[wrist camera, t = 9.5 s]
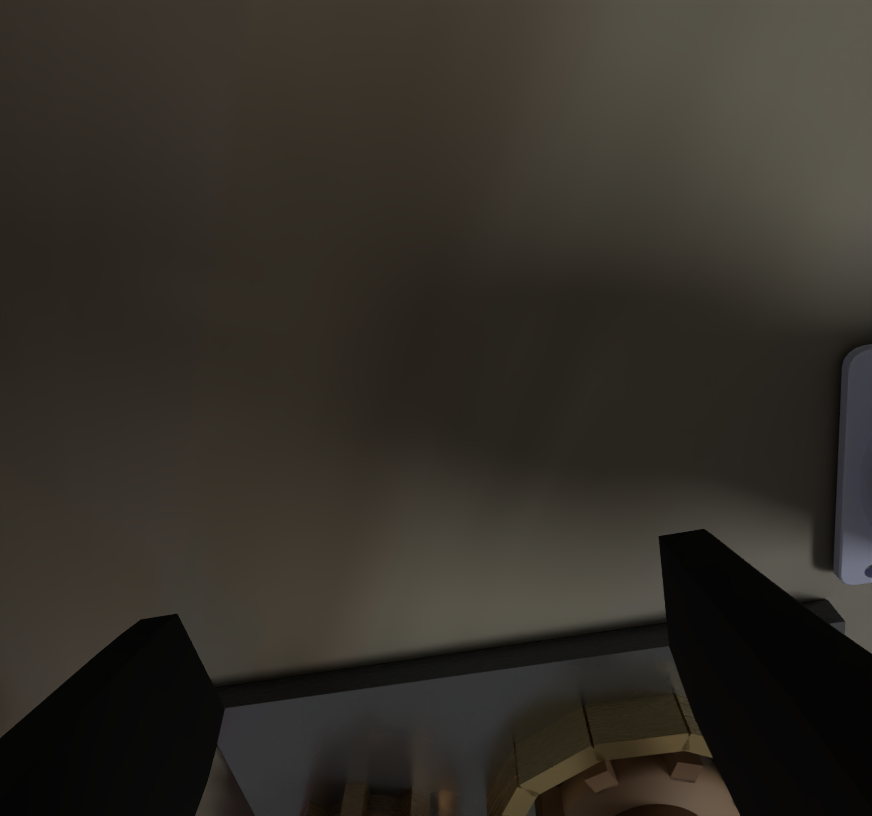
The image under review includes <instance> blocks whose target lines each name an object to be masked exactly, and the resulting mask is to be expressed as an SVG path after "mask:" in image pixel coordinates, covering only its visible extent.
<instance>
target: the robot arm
mask: <svg viewBox="0 0 872 816" xmlns="http://www.w3.org/2000/svg"><path fill="white" fill-rule="evenodd" d="M659 545H660V555H661V566H662V577H663V587H664V598H665V608H666V619H667V629H668V640H669V648H670V651H671V654H672V656H673V659H674V662H675V665H676V668H677V671H678V674H679V677H680V680H681V682H682V685H683V688H684V691H685V694H686V696H687V699H688V702H689V705H690V708H691V710H692V713H693V716H694V719H695V721H696V723H697V725H698V727H699V730H700V732H701V734H702V736H703V738H704V740H705V742H706V744H707V747H708V749H709V751H710V753H711V755H712V757H713V759H714V761H715V764H716V766H717V768H718V770H719V772H720V774H721V776H722V778H723V781H724V783H725V785H726V787H727V789H728V791H729V793H730V795H731V797H732V799H733V802H734V804H735V806H736V808H737V810H738V812H739V814H740V816H872V654H871V653H870V652H868V651H867V650H865V649H864V648H863V647H861V646H860V645H858V644H857V643H855V642H854V641H852V640H851V639H850V638H848V637H847V636H846V635H844V634H843V633H841V632H840V631H839V630H837V629H836V628H834V627H833V626H832V625H830V624H829V623H827V622H826V621H825V620H823V619H822V618H820V617H819V616H818V615H816V614H815V613H813V612H812V611H811V610H809V609H808V608H806V607H805V606H804V605H802V604H801V603H800V602H798V601H797V600H796V599H794V598H793V597H792V596H790V595H789V594H788V593H786V592H785V591H784V590H782V589H781V588H780V587H779V586H777V585H776V584H775V583H773V582H772V581H771V580H769V579H768V578H767V577H766V576H764V575H763V574H762V573H760V572H759V571H758V570H756V569H755V568H754V567H753V566H751V565H750V564H749V563H748V562H746V561H745V560H744V559H742V558H741V557H740V556H739V555H737V554H736V553H735V552H734V551H732V550H731V549H730V548H729V547H727V546H726V545H725V544H724V543H722V542H721V541H720V540H718V539H717V538H716V537H715V536H713V535H712V534H711V533H709V532H708V531H706V530H705V529H700V530H694V531H688V532H682V533H676V534H669V535H663V536H659ZM870 565H872V344H869V345H863V346H860V347H857V348H855V349H853V350H852V351H851V352H849V353H848V354H847V356H846V357H845V359H844V361H843V365H842V380H841V403H840V426H839V449H838V472H837V496H836V519H835V542H834V565H833V569H834V573H835V575H836V576H837V577H838V578H839V579H840V580H841V581H842V582H843V583H845V584H847V585H858V584H864V583H871V582H872V566H871V567H870V568H868V569H866V568H867V567H868V566H870ZM224 711H225V708H224V706H223V704H222V702H221V700H220V698H219V696H218V694H217V692H216V690H215V688H214V686H213V684H212V682H211V680H210V678H209V676H208V674H207V672H206V670H205V668H204V666H203V664H202V662H201V660H200V658H199V656H198V654H197V652H196V650H195V648H194V646H193V644H192V642H191V640H190V638H189V636H188V634H187V632H186V630H185V628H184V626H183V624H182V622H181V620H180V618H179V616H178V614H172V615H166V616H160V617H154V618H147V619H141V620H140V621H138V622H137V623H136V624H134V625H133V626H132V627H130V628H129V629H127V630H126V631H125V632H124V633H122V634H121V635H120V636H119V637H117V638H116V639H115V640H114V641H112V642H111V643H110V644H109V645H108V646H106V647H105V648H104V649H103V650H102V651H100V652H99V653H98V654H97V655H96V656H95V657H93V658H92V659H91V660H90V661H89V662H88V663H86V664H85V665H84V666H83V667H82V668H81V669H79V670H78V671H77V672H76V673H75V674H74V675H73V676H71V677H70V678H69V679H68V680H67V681H66V682H64V683H63V684H62V685H61V686H60V687H59V688H58V689H56V690H55V691H54V692H53V693H52V694H51V695H50V696H48V697H47V698H46V699H45V700H44V701H43V702H41V703H40V704H39V705H38V706H37V707H36V708H35V709H33V710H32V711H31V712H30V713H29V714H28V715H26V716H25V717H24V718H23V719H22V720H21V721H20V722H18V723H17V724H16V725H15V726H14V727H13V728H12V729H10V730H9V731H8V732H7V733H6V734H5V735H3V736H2V737H1V738H0V816H195V814H196V811H197V809H198V806H199V803H200V801H201V798H202V795H203V792H204V789H205V787H206V784H207V781H208V777H209V774H210V770H211V766H212V762H213V758H214V755H215V751H216V747H217V742H218V738H219V734H220V729H221V725H222V720H223V716H224Z"/></svg>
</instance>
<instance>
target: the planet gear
mask: <svg viewBox="0 0 872 816" xmlns="http://www.w3.org/2000/svg"><path fill="white" fill-rule="evenodd" d="M534 803H535V812H536V816H740V814H739V812H738V810H737V808H736V806H735V804H734V802H733V799H732V797H731V795H730V793H729V791H728V789H727V787H726V785H725V783H724V781H723V778H722V776H721V774H720V772H719V770H718V768H717V766H716V764H715V762H713V761H712V760H710V759H708V758H706V757H705V756H702V755H699V754H695V753H691V752H687V751H680V752H671V753H663V754H655V755H646V756H638V757H630V758H621V759H613V760H605V761H600V762H599V763H597V764H595V765H593V766H591V767H589V768H587V769H586V770H584V771H582V772H580V773H578V774H576V775H574V776H573V777H571V778H569V779H567V780H565V781H564V782H563V783H562V785H561V786H560V787H557V786H554V787H552V788H550V789H549V790H547V791H545V792H543V793H541V794H539V795H538V796H537V798H536V799H535V801H534Z"/></svg>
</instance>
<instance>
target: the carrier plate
mask: <svg viewBox="0 0 872 816" xmlns="http://www.w3.org/2000/svg"><path fill="white" fill-rule="evenodd" d="M801 604H802V605H804V606H805V607H806V608H808V609H809V610H811V611H812V612H813V613H815V614H816V615H818V616H819V617H820V618H822V619H823V620H825V621H826V622H827V623H829V624H830V625H832V626H833V627H834V628H836V629H837V630H839V631H840V632H841V633H843V634H845V621H844V619H843V618H842V617H841V616H840V615H839V613H838V612H837V611H836V610H835V608H834V607H833V606H832V605H831V603H830V602H829V601H828V600H822V601H815V602H808V603H801ZM215 690H216V692H217V694H218V696H219V698H220V700H221V702H222V704H223V706H224V708H225V711H224V716H223V720H222V725H221V729H220V734H219V738H218V742H217V744H218V746H219V748H220V750H221V752H222V754H223V756H224V758H225V760H226V762H227V763H228V765H229V767H230V769H231V771H232V773H233V775H234V777H235V779H236V781H237V783H238V784H239V786H240V788H241V790H242V792H243V794H244V796H245V798H246V800H247V802H248V803H249V805H250V807H251V809H252V811H253V813H254V815H255V816H536V812H535V803H534V801H535V799H536V798H537V796H538V795H539V794H541V793H543V792H545V791H547V790H549V789H550V788H552V787H554V786H557V787H560V786H561V785H562V783H563V782H564V781H565V780H567V779H569V778H571V777H573V776H574V775H576V774H578V773H580V772H582V771H584V770H586V769H587V768H589V767H591V766H593V765H595V764H597V763H599V762H600V761H605V760H613V759H621V758H630V757H638V756H646V755H655V754H663V753H671V752H680V751H687V752H691V753H695V754H699V755H702V756H705V757H706V758H708V759H710V760H712V761H713V762H715V761H714V759H713V757H712V755H711V753H710V751H709V749H708V747H707V744H706V742H705V740H704V738H703V736H702V734H701V732H700V730H699V727H698V725H697V723H696V721H695V719H694V716H693V713H692V710H691V708H690V705H689V702H688V699H687V696H686V694H685V691H684V688H683V685H682V682H681V680H680V677H679V674H678V671H677V668H676V665H675V662H674V659H673V656H672V654H671V651H670V648H669V640H668V629H667V623H663V624H656V625H649V626H642V627H635V628H628V629H621V630H614V631H607V632H601V633H594V634H587V635H580V636H573V637H566V638H559V639H552V640H545V641H538V642H531V643H524V644H517V645H511V646H504V647H497V648H490V649H483V650H476V651H469V652H462V653H455V654H448V655H441V656H434V657H427V658H421V659H414V660H407V661H400V662H393V663H386V664H379V665H372V666H365V667H358V668H351V669H344V670H337V671H331V672H324V673H317V674H310V675H303V676H296V677H289V678H282V679H275V680H268V681H261V682H254V683H247V684H240V685H234V686H227V687H220V688H215Z"/></svg>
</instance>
